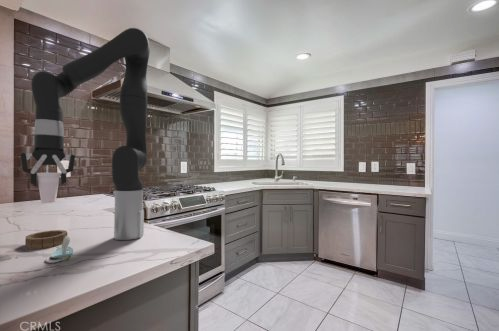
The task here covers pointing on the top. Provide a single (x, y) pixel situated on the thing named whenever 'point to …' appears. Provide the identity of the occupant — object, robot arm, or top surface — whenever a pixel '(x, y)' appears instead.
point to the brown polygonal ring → (45, 239)
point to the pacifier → (61, 252)
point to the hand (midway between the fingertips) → (48, 184)
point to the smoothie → (48, 186)
